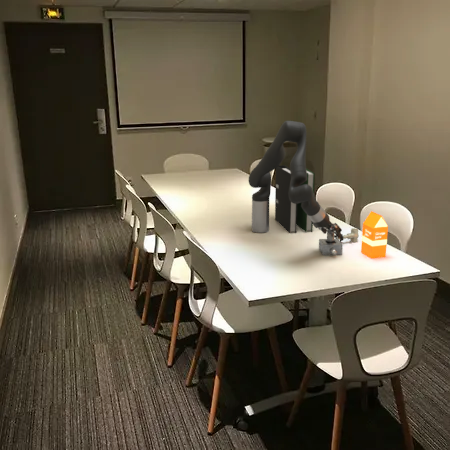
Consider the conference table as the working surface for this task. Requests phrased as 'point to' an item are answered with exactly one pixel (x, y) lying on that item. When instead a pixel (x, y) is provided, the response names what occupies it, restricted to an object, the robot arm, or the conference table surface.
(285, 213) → the binder
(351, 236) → the valve
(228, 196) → the conference table surface
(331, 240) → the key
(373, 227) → the orange juice
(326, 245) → the grey box
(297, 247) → the conference table surface
